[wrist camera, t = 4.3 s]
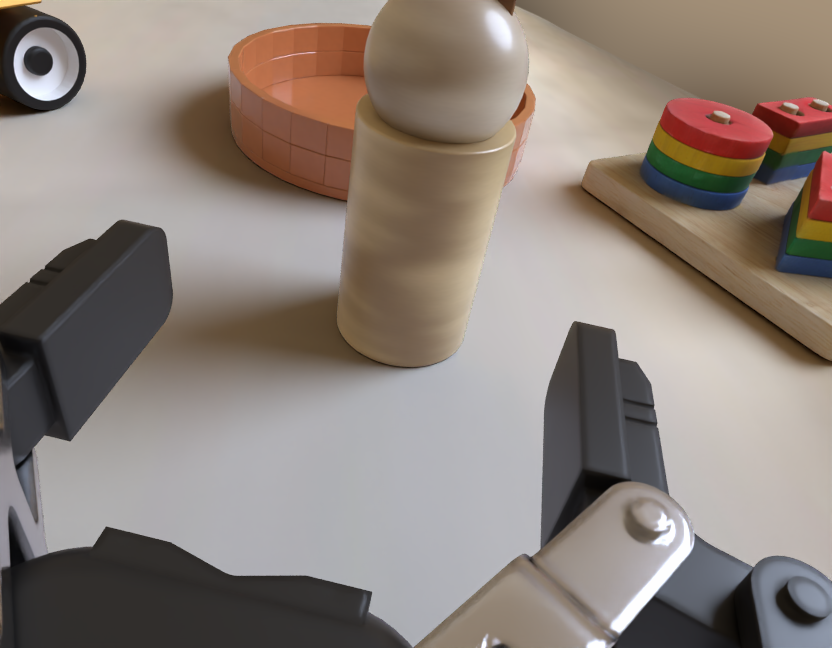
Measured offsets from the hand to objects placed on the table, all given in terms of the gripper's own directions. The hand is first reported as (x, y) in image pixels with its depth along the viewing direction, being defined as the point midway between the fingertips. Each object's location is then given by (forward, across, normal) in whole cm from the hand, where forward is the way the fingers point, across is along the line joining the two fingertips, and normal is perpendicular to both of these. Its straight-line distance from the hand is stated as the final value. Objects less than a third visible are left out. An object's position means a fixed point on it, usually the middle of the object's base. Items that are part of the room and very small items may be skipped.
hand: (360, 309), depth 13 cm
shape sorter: (+27, -20, +9) cm, 35 cm away
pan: (+29, +5, +9) cm, 31 cm away
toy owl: (+11, 0, +9) cm, 15 cm away
